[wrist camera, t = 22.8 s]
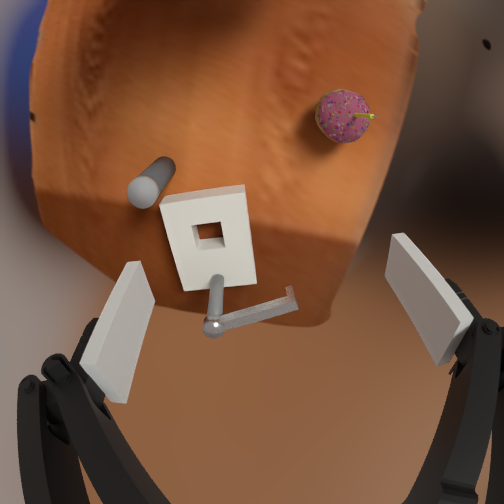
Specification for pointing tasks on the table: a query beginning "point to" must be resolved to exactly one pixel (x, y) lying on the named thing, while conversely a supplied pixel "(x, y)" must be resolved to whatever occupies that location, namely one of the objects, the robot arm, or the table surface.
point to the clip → (249, 315)
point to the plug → (150, 183)
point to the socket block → (210, 241)
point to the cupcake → (342, 115)
